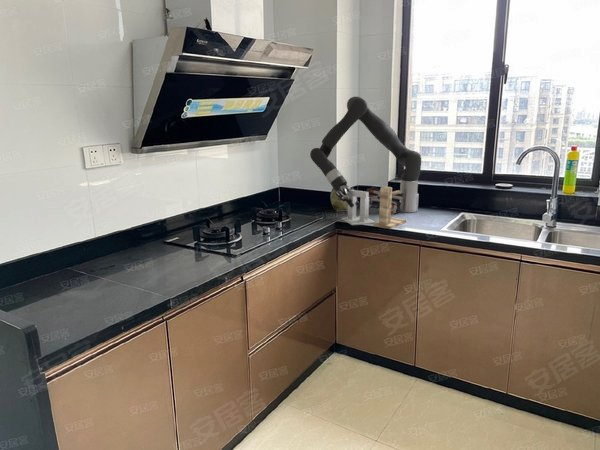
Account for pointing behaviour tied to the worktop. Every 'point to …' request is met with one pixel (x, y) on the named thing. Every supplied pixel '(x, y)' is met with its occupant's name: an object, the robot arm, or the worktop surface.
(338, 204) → the fossil
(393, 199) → the toy blaster
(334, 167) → the robot arm
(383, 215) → the stand
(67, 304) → the worktop surface
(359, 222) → the mat
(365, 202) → the link
